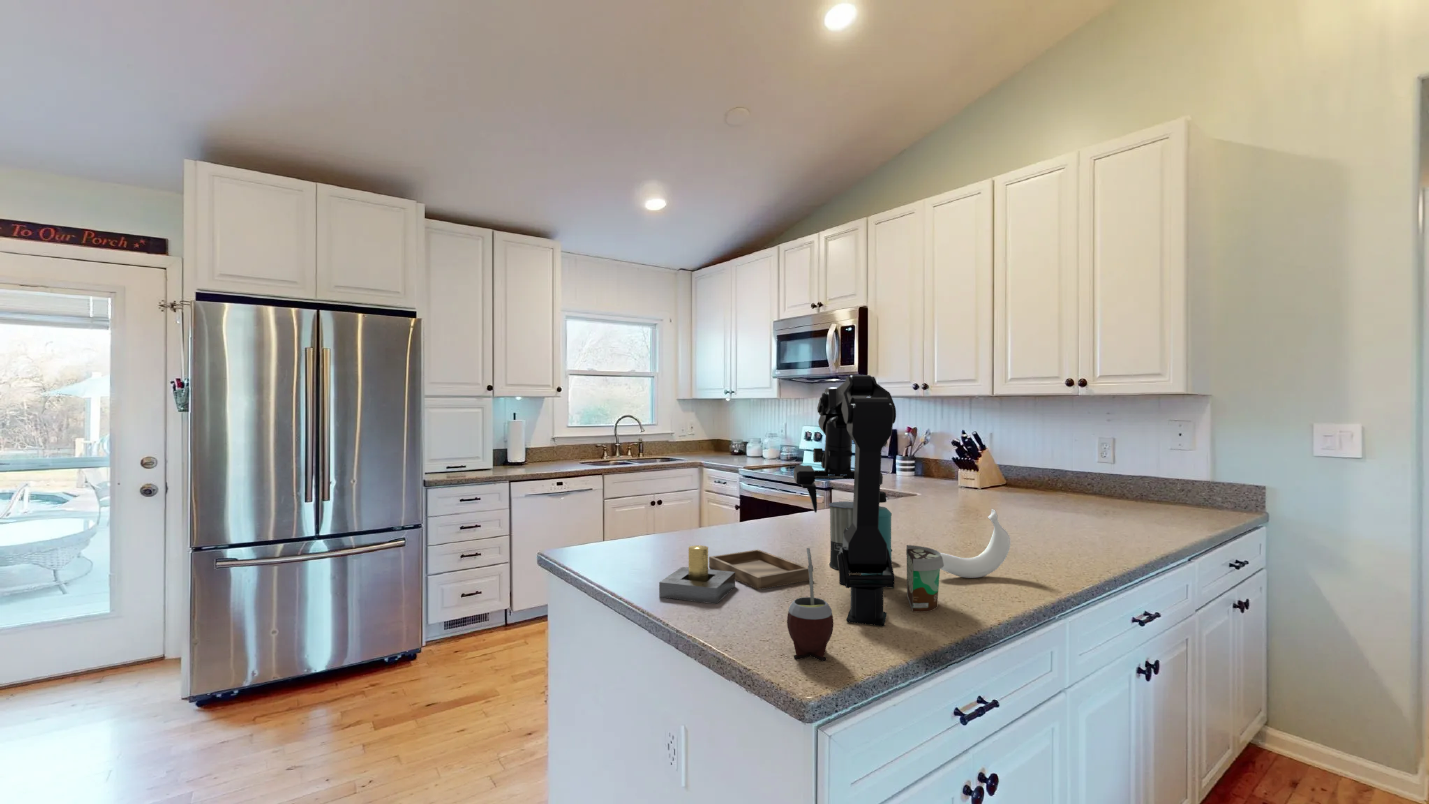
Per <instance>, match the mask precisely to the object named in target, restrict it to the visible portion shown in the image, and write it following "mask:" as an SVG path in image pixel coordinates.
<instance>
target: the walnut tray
mask: <svg viewBox="0 0 1429 804" xmlns="http://www.w3.org/2000/svg"><path fill="white" fill-rule="evenodd" d="M709 568H710V569H711V570H720V571H730V572H735V581H738V582H739V583H742V584H744V585H747V586H749V587H751V588H754V589H755V590H757V591H759V590H764V589H768V588H769V589H770V588H774V587H781V586H785V585H790V584H796V583H801V582H807V581H809V572H808V566H806V565H803V564H800V563H798V562H794V561H791V560H789V559H785V558H783V557H780V556H777V555H775V554H772V553H769V552H767V551H763V550H761V549H753V550H744V551H739V552H738V551H737V552H732V553H726V554H725V553H724V554H718V555H712V556H708V569H709Z"/></svg>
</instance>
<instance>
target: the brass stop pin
mask: <svg viewBox="0 0 1429 804" xmlns="http://www.w3.org/2000/svg"><path fill="white" fill-rule="evenodd" d="M688 567H689V580H692V581H702V582H707V581H708V569H709V546H706V545H703V544H702V545H701V544H699V545H690V546H689V547H688Z"/></svg>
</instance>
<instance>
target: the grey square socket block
mask: <svg viewBox="0 0 1429 804" xmlns="http://www.w3.org/2000/svg"><path fill="white" fill-rule="evenodd" d="M658 583H659V586H658V587H659V588H658V590H659V591H658V592H659V595H658V596H659V597H658V598H662V599H670V598H673V599H672V600H678V599H679V601H689V602H696V601H697V603H703V604H704V603H705V604H706V603H707V604H715V605H716V604H718V603H719V602H720V601H722V599H724V597H726V596H727V595H728V594H729V593H730V592H731V591H732V590H733V589H734V588H735V587H736V579H735V572H730V571H720V570H714V569H711V568H710V569H709V568H708V581H707V582H702V581H692V580H689V566H688V567H687V566H682V567H680V568H679V569H677V570H676V571H673V573H671V574H670V575H668V576H666V577H665V578H663V579H661V581H659V582H658ZM731 589H732V590H731ZM729 591H730V592H729Z"/></svg>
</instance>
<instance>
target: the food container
mask: <svg viewBox="0 0 1429 804" xmlns="http://www.w3.org/2000/svg"><path fill="white" fill-rule="evenodd" d="M905 550H906V553H905V555H906V597H907V600H908V602H909V605H910V609H911V611H912V612H913V613H924V612H925V613H926V612H927V613H928V612H931V610H932V611H935V610H937V608H938V600H939V599H938V598H939V589H940V587H939V586H940V574H941V569H940V568H942V567H943V566H944V563H943V559H942V556H941V554H940V553H941V552H940V551H938V550H937V549H935V548H930V547H925V546H922V545H912V544H907V545H906V549H905Z"/></svg>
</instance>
